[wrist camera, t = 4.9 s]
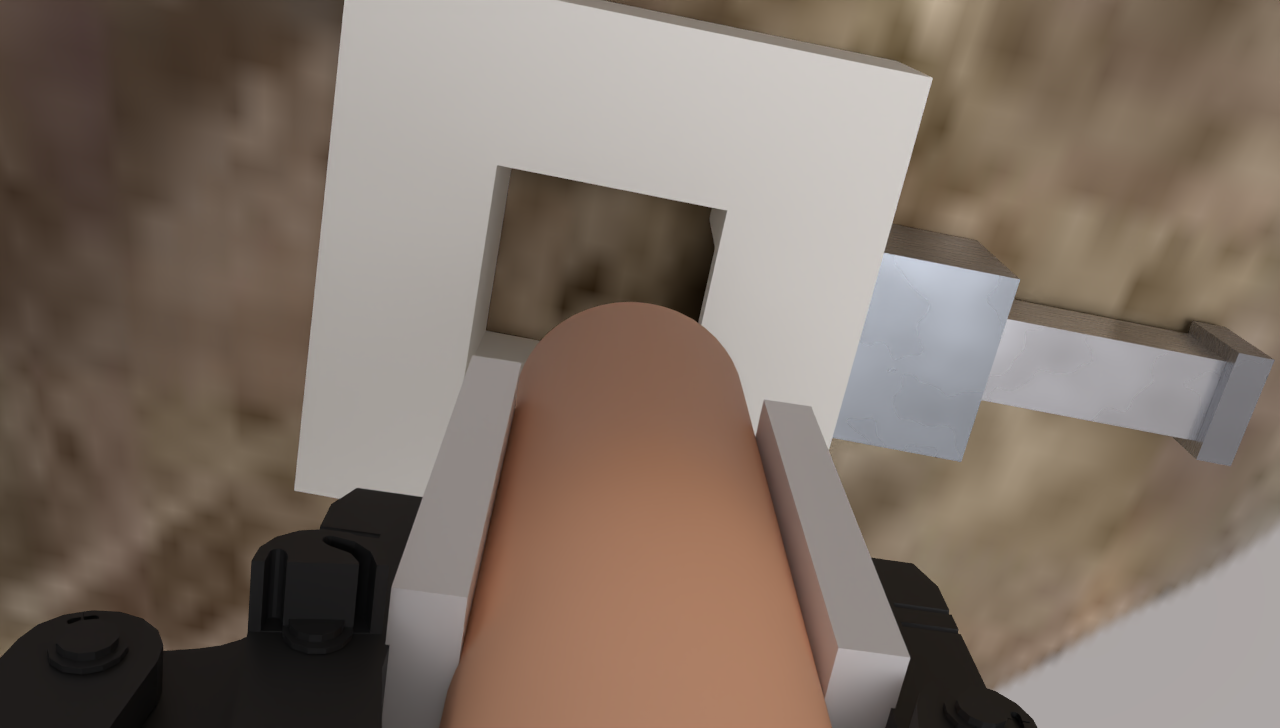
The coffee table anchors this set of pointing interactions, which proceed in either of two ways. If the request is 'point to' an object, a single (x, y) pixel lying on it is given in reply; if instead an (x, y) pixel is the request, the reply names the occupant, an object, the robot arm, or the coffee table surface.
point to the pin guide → (926, 344)
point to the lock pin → (1131, 376)
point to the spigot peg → (633, 546)
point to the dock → (592, 153)
